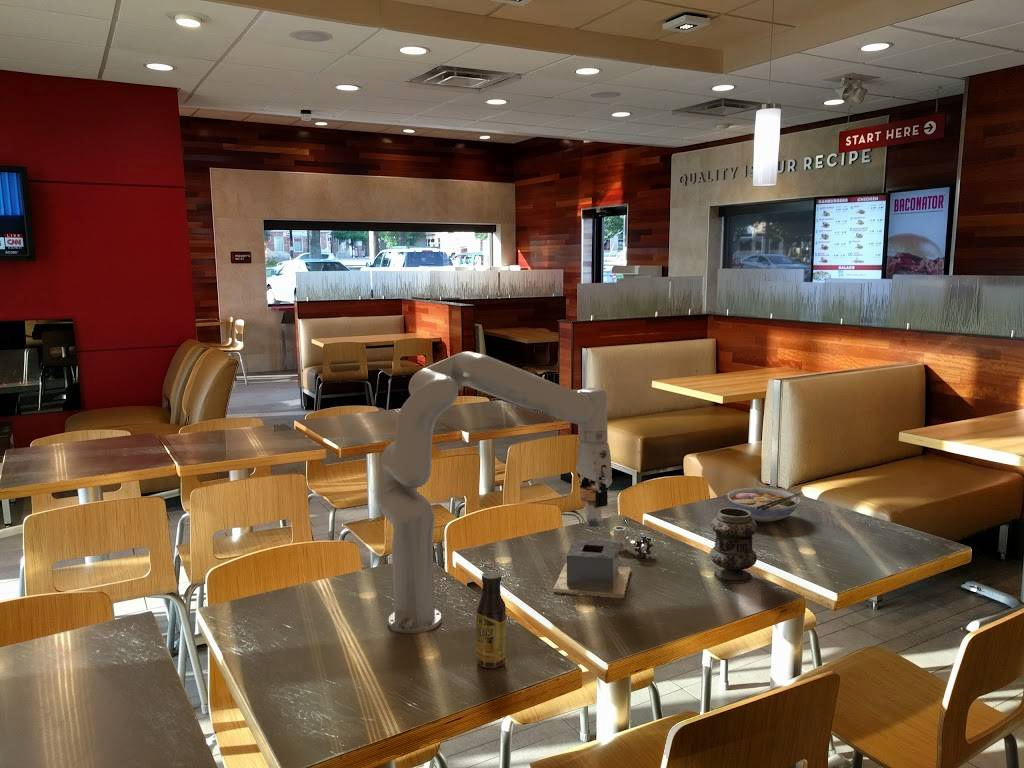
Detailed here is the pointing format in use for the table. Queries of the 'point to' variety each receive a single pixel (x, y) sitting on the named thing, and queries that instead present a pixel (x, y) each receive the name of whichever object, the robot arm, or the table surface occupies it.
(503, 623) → the sauce bottle
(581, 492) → the pin
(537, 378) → the robot arm
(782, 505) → the ramen bowl
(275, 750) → the table surface
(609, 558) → the block
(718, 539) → the apothecary jar
